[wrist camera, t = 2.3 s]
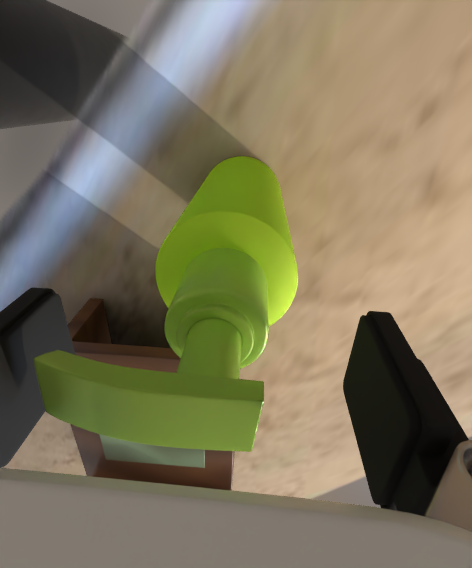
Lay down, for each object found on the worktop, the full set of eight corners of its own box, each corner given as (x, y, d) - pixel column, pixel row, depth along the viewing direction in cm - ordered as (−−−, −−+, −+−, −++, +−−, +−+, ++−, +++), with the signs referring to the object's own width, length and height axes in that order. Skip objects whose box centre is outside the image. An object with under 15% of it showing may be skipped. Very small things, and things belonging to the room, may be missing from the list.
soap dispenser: (191, 148, 24) (-5, 294, 6) (287, 162, 24) (365, 346, 6) (187, 226, 26) (46, 476, 9) (273, 239, 26) (297, 511, 9)
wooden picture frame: (90, 298, 30) (20, 380, 22) (242, 307, 30) (234, 396, 21) (118, 426, 39) (76, 523, 30) (235, 436, 39) (228, 536, 30)
